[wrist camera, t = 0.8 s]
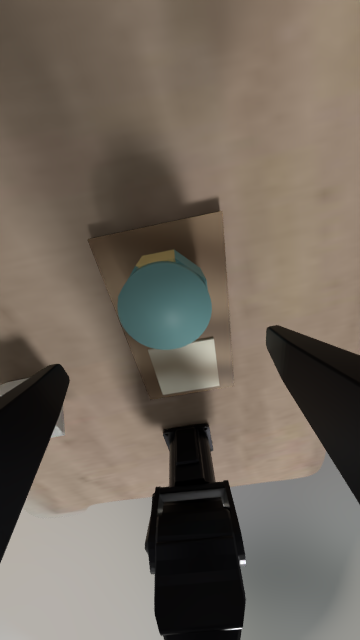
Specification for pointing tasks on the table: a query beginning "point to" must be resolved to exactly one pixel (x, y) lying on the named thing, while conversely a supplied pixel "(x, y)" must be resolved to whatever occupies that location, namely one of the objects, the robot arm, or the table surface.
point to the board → (209, 254)
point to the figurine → (59, 427)
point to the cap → (165, 301)
